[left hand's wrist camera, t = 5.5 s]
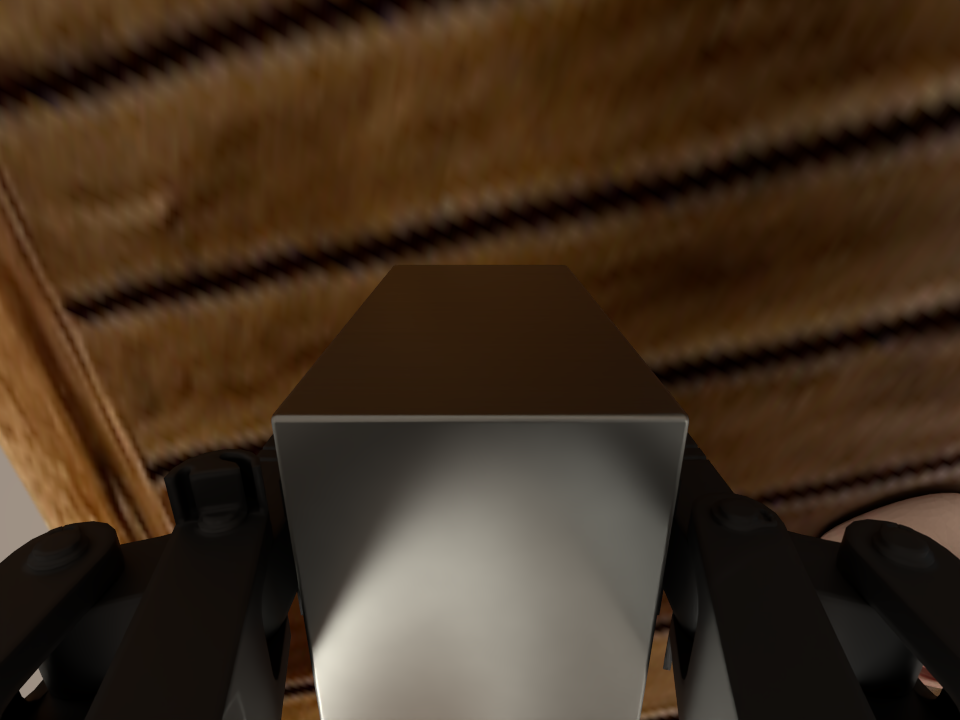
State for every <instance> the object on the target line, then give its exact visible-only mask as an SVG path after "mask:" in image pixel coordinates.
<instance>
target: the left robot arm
mask: <svg viewBox="0 0 960 720" xmlns="http://www.w3.org/2000/svg"><path fill="white" fill-rule="evenodd" d="M697 446H698V445H697V444H696V443H695V441H694V440H693V439H692V437H691V436H690V435H689V433H688V432H687V437H686V443H685V449H684V455H683V461H682V467H681V473H680V479H679V485H678V491H677V497H676V503H675V509H674V515H673V521H672V528H671V534H670V540H669V546H668V552H667V558H666V564H665V570H664V576H663V582H662V588H661V594H660V600H659V606H658V612H657V615H659V613H660V607H661V601H662V595H663V589H664V591H665V594H666V596H667V598H668V601H669V603H670V605H671V608H672V610H673V614H672V620H671V625H670V631H669V636H668V642H667V648H666V653H665V659H664V666H663V669H666V670H670V668H671V663H673V672H674V680H675V689H676V697H677V705H678V714H679V720H960V559H959V558H958V557H956V556H955V555H954V554H953V553H952V552H950V551H949V550H948V549H947V548H945V547H944V546H942V545H941V544H939V543H938V542H936V541H935V540H933V539H932V538H930V537H928V536H926V535H924V534H922V533H920V532H918V531H915V530H914V529H912V528H910V527H907V526H904V525H901V524H897V523H894V522H889V521H882V520H873V519H864V520H858V521H853V522H852V523H851V524H849V525H848V526H847V527H846V529H845V532H844V535H843V538H842V541H841V542H836V541H831V540H826V539H821V538H816V537H811V536H806V535H801V534H798V533H794V532H790V531H787V529H786V527H785V525H784V523H783V522H782V520H781V519H780V518H779V517H778V515H777V514H776V513H775V512H774V511H772V510H771V509H769V508H768V507H766V506H765V505H764V504H762V503H760V502H758V501H755V500H753V499H751V498H748V497H746V496H742V495H738V494H734V493H733V492H732V490H731V489H730V488H729V486H728V485H727V484H726V482H725V481H724V480H723V478H722V477H721V476H720V474H719V473H718V472H717V470H716V469H715V468H714V466H713V465H712V464H711V463H710V461H709V460H706V456H705V455H704V453H703V452H702V451H701V449H700V448H698V447H697ZM164 481H165V484H166V488H167V492H168V496H169V500H170V503H171V507H172V511H173V515H174V519H175V523H176V526H175V528H174V530H173V532H172V533H171V534H168V535H164V536H160V537H155V538H151V539H146V540H141V541H136V542H131V543H126V544H121V545H120V543H119V540H118V537H117V534H116V530H115V529H114V528H113V527H111V526H110V525H109V524H108V523H102V522H95V521H91V522H82V523H73V524H69V525H65V526H64V527H62V526H61V527H58V528H55V529H52V530H50V531H48V532H47V533H45V534H42V535H40V536H38V537H36V538H34V539H32V540H30V541H29V542H27V543H26V544H24V545H23V546H21V547H20V548H18V549H17V550H16V551H14V552H13V553H12V554H10V555H9V556H8V557H7V558H6V559H5V560H3V561H2V562H1V563H0V720H281V715H282V707H283V698H284V690H285V681H286V673H287V665H288V656H289V648H290V639H291V633H290V626H289V620H288V611H289V609H290V606H291V604H292V602H293V599H294V597H295V595H296V592H297V593H298V599H299V605H300V611H301V615H303V610H302V604H301V598H300V592H299V586H298V580H297V574H296V567H295V561H294V555H293V549H292V543H291V537H290V531H289V525H288V519H287V513H286V507H285V501H284V495H283V489H282V482H281V476H280V470H279V464H278V458H277V452H276V446H275V440H274V434H273V435H272V436H271V437H270V439H269V440H268V441H267V443H266V444H265V445H264V447H263V450H261V451H260V452H259V453H258V455H257V456H256V455H255V454H254V453H252V452H249V451H245V450H240V449H227V450H218V451H213V452H208V453H204V454H201V455H199V456H196V457H193V458H190V459H188V460H186V461H184V462H183V463H181V464H179V465H178V466H176V467H174V468H173V469H172V470H171V471H170V472H169V473H168V474H167V475H166V476H165V478H164ZM923 666H924V667H925V668H926V669H927V670H928V671H929V673H930V674H931V675H932V676H933V677H934V678H935V679H936V680H937V682H938V683H939V684H940V685H941V686H942V687H943V688H942V691H941V693H940V695H939V696H938V697H937V696H935V695H934V694H933V693H932V692H931V691H930V690H929V689H928V688H927V687H926V686H925V685H924V684H923V683H922V681H921V680H920V679H919V678H918V676H919V674H920V672H921V669H922V667H923ZM38 668H39V670H40V673H41V675H42V677H43V680H42V681H41V683H40V684H39V685H38V686H37V687H36V689H35V690H34V691H32V692H31V693H30V694H29V695H28V696H27V697H26V698H23V697H22V696H21V694H20V692H19V690H20V688H21V687H22V686H23V685H24V684H25V683H26V682H27V680H28V679H29V678H30V677H31V676H32V675H33V674H34V672H35V671H36V670H37V669H38Z"/></svg>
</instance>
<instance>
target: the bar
mask: <svg viewBox="0 0 960 720" xmlns="http://www.w3.org/2000/svg"><path fill="white" fill-rule="evenodd" d="M271 421H272V428H273V434H274V440H275V446H276V452H277V458H278V464H279V470H280V476H281V482H282V489H283V495H284V501H285V507H286V513H287V519H288V525H289V531H290V537H291V543H292V549H293V555H294V561H295V567H296V574H297V580H298V586H299V592H300V598H301V604H302V610H303V616H304V622H305V628H306V634H307V640H308V646H309V652H310V658H311V665H312V671H313V677H314V683H315V689H316V695H317V701H318V707H319V713H320V719H321V720H640V715H641V709H642V703H643V697H644V691H645V685H646V679H647V673H648V667H649V661H650V655H651V648H652V642H653V636H654V630H655V624H656V618H657V612H658V606H659V600H660V594H661V588H662V582H663V576H664V570H665V564H666V558H667V552H668V546H669V540H670V534H671V528H672V521H673V515H674V509H675V503H676V497H677V491H678V485H679V479H680V473H681V467H682V461H683V455H684V449H685V443H686V437H687V431H688V425H689V418H688V415H687V414H686V412H685V411H684V410H683V409H682V407H681V406H680V405H679V404H678V402H677V401H676V400H675V399H674V398H673V396H672V395H671V394H670V393H669V391H668V390H667V389H666V388H665V386H664V385H663V384H662V383H661V381H660V380H659V379H658V378H657V377H656V375H655V374H654V373H653V372H652V370H651V369H650V368H649V367H648V365H647V364H646V363H645V362H644V361H643V359H642V358H641V357H640V356H639V354H638V353H637V352H636V351H635V349H634V348H633V347H632V346H631V345H630V343H629V342H628V341H627V340H626V338H625V337H624V336H623V335H622V333H621V332H620V331H619V330H618V328H617V327H616V326H615V325H614V324H613V322H612V321H611V320H610V319H609V317H608V316H607V315H606V314H605V312H604V311H603V310H602V309H601V308H600V306H599V305H598V304H597V303H596V301H595V300H594V299H593V298H592V296H591V295H590V294H589V293H588V291H587V290H586V289H585V288H584V287H583V285H582V284H581V283H580V282H579V280H578V279H577V278H576V277H575V275H574V274H573V273H572V272H571V271H570V269H569V268H568V267H567V266H566V265H395V266H393V267H392V269H391V270H390V271H389V272H388V274H387V275H386V276H385V277H384V278H383V280H382V281H381V282H380V283H379V285H378V286H377V287H376V288H375V290H374V291H373V292H372V293H371V294H370V296H369V297H368V298H367V299H366V301H365V302H364V303H363V304H362V306H361V307H360V308H359V309H358V311H357V312H356V313H355V314H354V315H353V317H352V318H351V319H350V320H349V322H348V323H347V324H346V325H345V327H344V328H343V329H342V330H341V331H340V333H339V334H338V335H337V336H336V338H335V339H334V340H333V341H332V343H331V344H330V345H329V346H328V347H327V349H326V350H325V351H324V352H323V354H322V355H321V356H320V357H319V359H318V360H317V361H316V362H315V363H314V365H313V366H312V367H311V368H310V370H309V371H308V372H307V373H306V375H305V376H304V377H303V378H302V380H301V381H300V382H299V383H298V384H297V386H296V387H295V388H294V389H293V391H292V392H291V393H290V394H289V396H288V397H287V398H286V399H285V400H284V402H283V403H282V404H281V405H280V407H279V408H278V409H277V410H276V412H275V413H274V414H273V416H272V419H271Z"/></svg>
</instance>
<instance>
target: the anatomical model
mask: <svg viewBox="0 0 960 720" xmlns="http://www.w3.org/2000/svg"><path fill="white" fill-rule="evenodd" d="M864 519H873V520H882V521H889V522H894V523H897V524H901V525H904V526H907V527H910V528H912V529H914V530H915V531H918V532H920V533H922V534H924V535H926V536H928V537H930V538H932V539H933V540H935V541H936V542H938V543H939V544H941V545H942V546H944V547H945V548H947V549H948V550H949V551H950V552H952V553H953V554H954V555H955V556H956V557H958V558H959V559H960V494H959V493H937V494H929V495H924V496H918V497H913V498H909V499H906V500H902V501H898V502H895V503H892V504H889V505H886V506H883V507H880V508H877V509H875V510H872V511H869V512H867V513H864V514H862V515H859V516H857V517H854V518H852V519H850V520H848V521H846V522H844V523H842V524H840V525H838V526H836V527H834V528H833V529H831V530H830V531H828V532H827V533H825V534H824V535H823V536H822V537H821V539H826V540H831V541H836V542H841V541H842V538H843V535H844V532H845V529H846V527H847V526H848V525H849V524H851V523H852V522H853V521H858V520H864ZM918 678H919V679H920V680H921V681H922V683H923V684H924V685H928V686H932V687H937V688H943V687H942V686H941V685H940V684H939V683H938V682H937V680H936V679H935V678H934V677H933V676H932V675H931V674H930V673H929V671H928V670H927V669H926V668H925V667H924V666H923V667H922V669H921V672H920V674H919V676H918Z"/></svg>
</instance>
